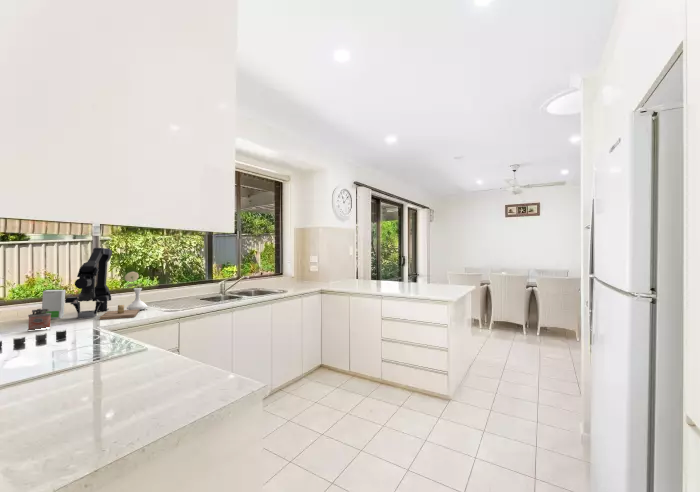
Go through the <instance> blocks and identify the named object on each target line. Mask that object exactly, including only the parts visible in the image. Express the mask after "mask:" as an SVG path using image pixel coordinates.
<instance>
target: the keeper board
mask: <svg viewBox="0 0 700 492" xmlns="http://www.w3.org/2000/svg"><path fill="white" fill-rule="evenodd" d="M139 313H140V310H139V309H138V310H129V309H126V310H125V304H118V305H117V310H107V311H105V313H103V314H102V315H100V316H99V319H98V320H99V321H101V320H114V319H115V320H116V319H117V320H119V319H130V318H132V319H133V318H135V317H136V316H137V315H139Z"/></svg>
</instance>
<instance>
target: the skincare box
mask: <svg viewBox="0 0 700 492" xmlns="http://www.w3.org/2000/svg"><path fill="white" fill-rule="evenodd" d="M65 299H66V289H46V290H43V291H42V303H41V309H50V310H49V311H48V312H46V313H51V320H58V319H62V318H64V316H65V314H64V313H65V304H66V303H65Z"/></svg>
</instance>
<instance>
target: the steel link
mask: <svg viewBox="0 0 700 492" xmlns="http://www.w3.org/2000/svg"><path fill="white" fill-rule="evenodd" d="M96 316H97V313H96V314H95V311H94V310H82V311H81V310H80V312H79V313H77V318H76V319H80V320H81V319H94V318H95V317H96Z"/></svg>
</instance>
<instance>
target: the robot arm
mask: <svg viewBox="0 0 700 492" xmlns="http://www.w3.org/2000/svg"><path fill="white" fill-rule="evenodd" d="M112 254H113V250H112V249H110V248H107V247H93V250H92V253H91V255H90V256H89V258H88V260H87V261H86V262H83V263H82V264H81V266H80V267H79V270H78V272H77V276H76V278H77V279H76V280H75V282H74V287H76V288H77V289H81V290H80V293H79V295H78V296H68V297H65V304H70V305H73V307H74V308H75V310H76V312H77V314H78V313H79V312H81V302H90V301H92V302H95V308H94V310H93V311H95V314H96V313H97V312H107V311H109V308H108V302H109V301H112V296H111V295H112V294H111V291H110V288H109V287H108V285H107V279H108V278H107V276H108V262H109V261H110V260H111V258H112ZM96 277H97V279H96ZM95 283H96V285H95Z"/></svg>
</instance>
